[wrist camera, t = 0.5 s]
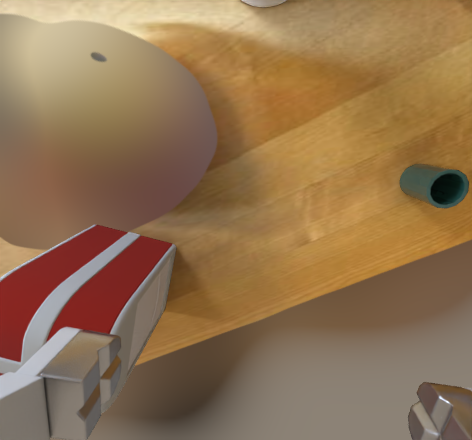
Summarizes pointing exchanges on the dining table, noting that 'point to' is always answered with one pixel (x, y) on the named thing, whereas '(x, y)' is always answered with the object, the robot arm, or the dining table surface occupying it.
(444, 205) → the pot
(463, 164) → the dining table surface
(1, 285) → the tissue box
